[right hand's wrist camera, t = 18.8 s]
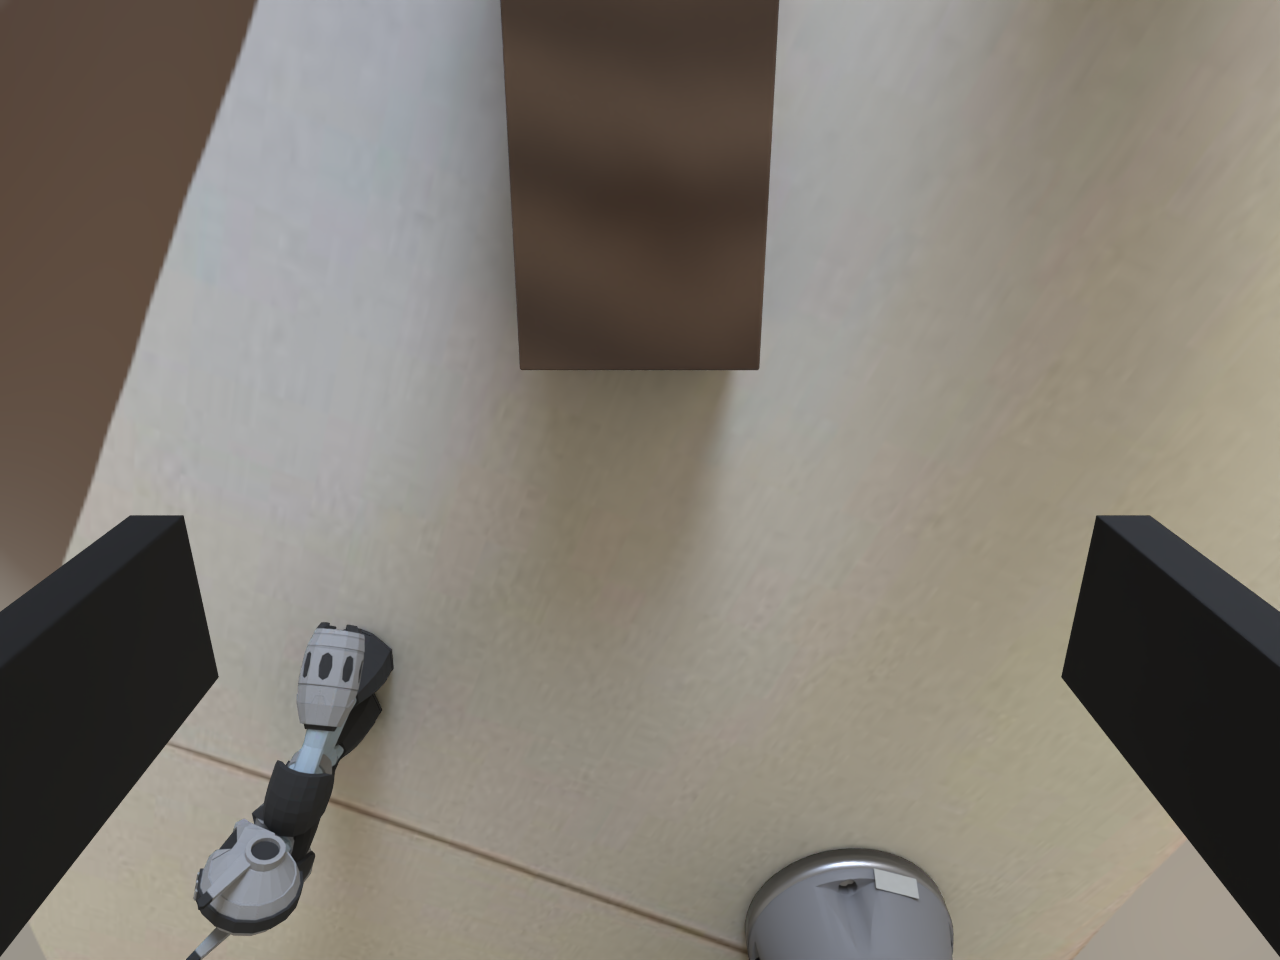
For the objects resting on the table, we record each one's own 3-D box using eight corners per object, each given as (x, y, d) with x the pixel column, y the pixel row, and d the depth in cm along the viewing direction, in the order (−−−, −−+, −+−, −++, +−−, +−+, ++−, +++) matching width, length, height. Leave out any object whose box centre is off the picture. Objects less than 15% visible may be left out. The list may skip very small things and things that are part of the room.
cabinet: (524, -6, 42) (498, -38, 34) (755, -6, 42) (781, -38, 34) (539, 332, 48) (519, 370, 41) (740, 332, 48) (759, 370, 41)
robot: (361, 799, 61) (239, 1091, 42) (293, 781, 60) (139, 1070, 42) (425, 567, 54) (313, 795, 35) (349, 545, 53) (193, 765, 35)
